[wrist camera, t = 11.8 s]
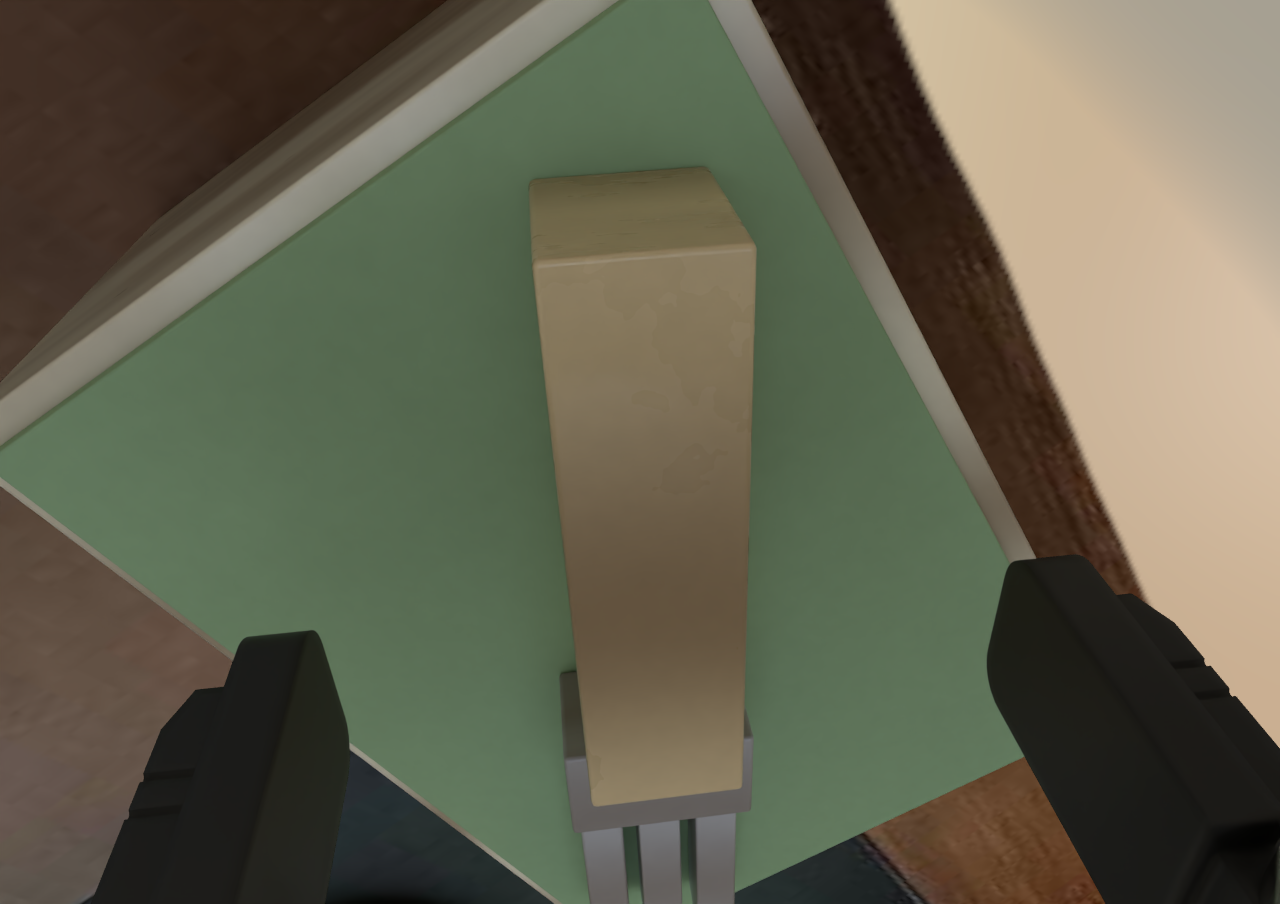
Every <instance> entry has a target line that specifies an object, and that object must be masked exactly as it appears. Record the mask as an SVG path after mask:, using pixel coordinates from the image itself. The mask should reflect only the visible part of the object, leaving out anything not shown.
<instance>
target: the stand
mask: <svg viewBox="0 0 1280 904" xmlns="http://www.w3.org/2000/svg"><path fill="white" fill-rule="evenodd" d="M617 1H618V0H447V1H446V2H445V3H443V4H442V5H441V6H440V7H438V8H437V9H436V10H434V11H433V12H432V13H430V14H429V15H428V16H426V17H425V18H424V19H422V20H421V21H420V22H418V23H417V24H416V25H414V26H413V27H412V28H410V29H409V30H408V31H406V32H405V33H404V34H402V35H401V36H400V37H398V38H397V39H396V40H394V41H393V42H392V43H391V44H389V45H388V46H387V47H385V48H384V49H383V50H381V51H380V52H379V53H377V54H376V55H375V56H373V57H372V58H371V59H369V60H368V61H367V62H365V63H364V64H363V65H361V66H360V67H359V68H357V69H356V70H355V71H353V72H352V73H351V74H349V75H348V76H347V77H345V78H344V79H343V80H342V81H340V82H339V83H338V84H336V85H335V86H334V87H332V88H331V89H330V90H328V91H327V92H326V93H324V94H323V95H322V96H320V97H319V98H318V99H316V100H315V101H314V102H312V103H311V104H310V105H308V106H307V107H306V108H304V109H303V110H302V111H300V112H299V113H298V114H296V115H295V116H294V117H293V118H291V119H290V120H289V121H287V122H286V123H285V124H283V125H282V126H281V127H279V128H278V129H277V130H275V131H274V132H273V133H271V134H270V135H269V136H267V137H266V138H265V139H263V140H262V141H261V142H259V143H258V144H257V145H255V146H254V147H253V148H251V149H250V150H249V151H248V152H246V153H245V154H244V155H242V156H241V157H240V158H238V159H237V160H236V161H234V162H233V163H232V164H230V165H229V166H228V167H226V168H225V169H224V170H222V171H221V172H220V173H218V174H217V175H216V176H214V177H213V178H212V179H210V180H209V181H208V182H206V183H205V184H204V185H202V186H201V187H200V188H199V189H197V190H196V191H195V192H193V193H192V194H191V195H189V196H188V197H187V198H185V199H184V200H183V201H181V202H180V203H179V204H177V205H176V206H175V207H173V208H172V209H171V210H169V211H168V212H167V213H165V214H164V215H163V216H161V217H160V218H159V219H158V220H157V221H156V222H155V223H154V224H153V225H152V226H151V227H150V228H149V229H148V230H147V231H146V232H145V233H144V234H143V235H142V236H141V237H140V238H139V239H138V240H137V241H136V243H135V244H134V245H133V246H132V247H131V248H130V249H129V250H128V251H127V252H126V253H125V254H124V255H123V256H122V257H121V258H120V259H119V260H118V261H117V262H116V263H115V264H114V265H113V266H112V267H111V268H110V269H109V271H108V272H107V273H106V274H105V275H104V276H103V277H102V278H101V279H100V280H99V281H98V282H97V283H96V284H95V285H94V286H93V287H92V288H91V289H90V290H89V291H88V292H87V293H86V294H85V295H84V296H83V297H82V299H81V300H80V301H79V302H78V303H77V304H76V305H75V306H74V307H73V308H72V309H71V310H70V311H69V312H68V313H67V314H66V315H65V316H64V317H63V318H62V319H61V320H60V321H59V322H58V323H57V324H56V325H55V326H54V328H53V329H52V330H51V331H50V332H49V333H48V334H47V335H46V336H45V337H44V338H43V339H42V340H41V341H40V342H39V343H38V344H37V345H36V346H35V347H34V348H33V349H32V350H31V351H30V352H29V353H28V354H27V356H26V357H25V358H24V359H23V360H22V361H21V362H20V363H19V364H18V365H17V366H16V367H15V368H14V369H13V370H12V371H11V372H10V373H9V374H8V375H7V376H6V377H5V378H4V379H3V380H2V381H1V382H0V446H1V445H2V444H4V443H5V442H7V441H8V440H9V439H11V438H12V437H13V436H15V435H16V434H18V433H19V432H20V431H22V430H23V429H25V428H26V427H27V426H29V425H30V424H32V423H33V422H34V421H36V420H37V419H38V418H40V417H41V416H43V415H44V414H45V413H47V412H48V411H50V410H51V409H52V408H54V407H55V406H56V405H58V404H59V403H61V402H62V401H63V400H65V399H66V398H68V397H69V396H70V395H72V394H73V393H75V392H76V391H77V390H79V389H80V388H81V387H83V386H84V385H86V384H87V383H88V382H90V381H91V380H93V379H94V378H95V377H97V376H98V375H100V374H101V373H102V372H104V371H105V370H106V369H108V368H109V367H111V366H112V365H113V364H115V363H116V362H118V361H119V360H120V359H122V358H123V357H124V356H126V355H127V354H129V353H130V352H131V351H133V350H134V349H136V348H137V347H138V346H140V345H141V344H143V343H144V342H145V341H147V340H148V339H149V338H151V337H152V336H154V335H155V334H156V333H158V332H159V331H161V330H162V329H163V328H165V327H166V326H167V325H169V324H170V323H172V322H173V321H174V320H176V319H177V318H179V317H180V316H181V315H183V314H184V313H186V312H187V311H188V310H190V309H191V308H192V307H194V306H195V305H197V304H198V303H199V302H201V301H202V300H204V299H205V298H206V297H208V296H209V295H210V294H212V293H213V292H215V291H216V290H217V289H219V288H220V287H222V286H223V285H224V284H226V283H227V282H229V281H230V280H231V279H233V278H234V277H235V276H237V275H238V274H240V273H241V272H242V271H244V270H245V269H247V268H248V267H249V266H251V265H252V264H253V263H255V262H256V261H258V260H259V259H260V258H262V257H263V256H265V255H266V254H267V253H269V252H270V251H272V250H273V249H274V248H276V247H277V246H278V245H280V244H281V243H283V242H284V241H285V240H287V239H288V238H290V237H291V236H292V235H294V234H295V233H297V232H298V231H299V230H301V229H302V228H303V227H305V226H306V225H308V224H309V223H310V222H312V221H313V220H315V219H316V218H317V217H319V216H320V215H321V214H323V213H324V212H326V211H327V210H328V209H330V208H331V207H333V206H334V205H335V204H337V203H338V202H340V201H341V200H342V199H344V198H345V197H346V196H348V195H349V194H351V193H352V192H353V191H355V190H356V189H358V188H359V187H360V186H362V185H363V184H364V183H366V182H367V181H369V180H370V179H371V178H373V177H374V176H376V175H377V174H378V173H380V172H381V171H383V170H384V169H385V168H387V167H388V166H389V165H391V164H392V163H394V162H395V161H396V160H398V159H399V158H401V157H402V156H403V155H405V154H406V153H407V152H409V151H410V150H412V149H413V148H414V147H416V146H417V145H419V144H420V143H421V142H423V141H424V140H426V139H427V138H428V137H430V136H431V135H432V134H434V133H435V132H437V131H438V130H439V129H441V128H442V127H444V126H445V125H446V124H448V123H449V122H451V121H452V120H453V119H455V118H456V117H457V116H459V115H460V114H462V113H463V112H464V111H466V110H467V109H469V108H470V107H471V106H473V105H474V104H475V103H477V102H478V101H480V100H481V99H482V98H484V97H485V96H487V95H488V94H489V93H491V92H492V91H494V90H495V89H496V88H498V87H499V86H500V85H502V84H503V83H505V82H506V81H507V80H509V79H510V78H512V77H513V76H514V75H516V74H517V73H518V72H520V71H521V70H523V69H524V68H525V67H527V66H528V65H530V64H531V63H532V62H534V61H535V60H537V59H538V58H539V57H541V56H542V55H543V54H545V53H546V52H548V51H549V50H550V49H552V48H553V47H555V46H556V45H557V44H559V43H560V42H561V41H563V40H564V39H566V38H567V37H568V36H570V35H571V34H573V33H574V32H575V31H577V30H578V29H580V28H581V27H582V26H584V25H585V24H586V23H588V22H589V21H591V20H592V19H593V18H595V17H596V16H598V15H599V14H600V13H602V12H603V11H605V10H606V9H607V8H609V7H610V6H611V5H613V4H614V3H616V2H617ZM708 1H709V3H710V4H711V6H712V8H713V10H714V12H715V14H716V16H717V18H718V19H719V21H720V23H721V25H722V27H723V29H724V31H725V32H726V34H727V36H728V38H729V40H730V42H731V44H732V46H733V47H734V49H735V51H736V53H737V55H738V57H739V59H740V60H741V62H742V64H743V66H744V68H745V70H746V72H747V74H748V75H749V77H750V79H751V81H752V83H753V85H754V87H755V88H756V90H757V92H758V94H759V96H760V98H761V100H762V102H763V103H764V105H765V107H766V109H767V111H768V113H769V115H770V116H771V118H772V120H773V122H774V124H775V126H776V128H777V129H778V131H779V133H780V135H781V137H782V139H783V141H784V143H785V144H786V146H787V148H788V150H789V152H790V154H791V156H792V157H793V159H794V161H795V163H796V165H797V167H798V169H799V171H800V172H801V174H802V176H803V178H804V180H805V182H806V184H807V185H808V187H809V189H810V191H811V193H812V195H813V197H814V199H815V200H816V202H817V204H818V206H819V208H820V210H821V212H822V213H823V215H824V217H825V219H826V221H827V223H828V225H829V227H830V228H831V230H832V232H833V234H834V236H835V238H836V240H837V241H838V243H839V245H840V247H841V249H842V251H843V253H844V255H845V256H846V258H847V260H848V262H849V264H850V266H851V268H852V269H853V271H854V273H855V275H856V277H857V279H858V281H859V283H860V284H861V286H862V288H863V290H864V292H865V294H866V296H867V297H868V299H869V301H870V303H871V305H872V307H873V309H874V311H875V312H876V314H877V316H878V318H879V320H880V322H881V324H882V325H883V327H884V329H885V331H886V333H887V335H888V337H889V339H890V340H891V342H892V344H893V346H894V348H895V350H896V352H897V353H898V355H899V357H900V359H901V361H902V363H903V365H904V367H905V368H906V370H907V372H908V374H909V376H910V378H911V380H912V381H913V383H914V385H915V387H916V389H917V391H918V393H919V395H920V396H921V398H922V400H923V402H924V404H925V406H926V408H927V409H928V411H929V413H930V415H931V417H932V419H933V421H934V423H935V424H936V426H937V428H938V430H939V432H940V434H941V436H942V437H943V439H944V441H945V443H946V445H947V447H948V449H949V451H950V452H951V454H952V456H953V458H954V460H955V462H956V464H957V465H958V467H959V469H960V471H961V473H962V475H963V477H964V479H965V480H966V482H967V484H968V486H969V488H970V490H971V492H972V493H973V495H974V497H975V499H976V501H977V503H978V505H979V506H980V508H981V510H982V512H983V514H984V516H985V518H986V520H987V521H988V523H989V525H990V527H991V529H992V531H993V533H994V534H995V536H996V538H997V540H998V542H999V544H1000V546H1001V548H1002V549H1003V551H1004V553H1005V555H1006V557H1007V559H1008V561H1009V562H1010V564H1011V563H1012V562H1013V561H1017V560H1026V559H1036V557H1035V555H1034V553H1033V551H1032V549H1031V547H1030V545H1029V543H1028V541H1027V539H1026V537H1025V535H1024V533H1023V531H1022V529H1021V527H1020V525H1019V523H1018V521H1017V519H1016V518H1015V516H1014V514H1013V512H1012V510H1011V508H1010V506H1009V504H1008V502H1007V500H1006V498H1005V496H1004V494H1003V492H1002V490H1001V488H1000V486H999V484H998V482H997V480H996V478H995V476H994V474H993V472H992V471H991V469H990V467H989V465H988V463H987V461H986V459H985V457H984V455H983V453H982V451H981V449H980V447H979V445H978V443H977V441H976V439H975V437H974V435H973V433H972V431H971V429H970V427H969V425H968V424H967V422H966V420H965V418H964V416H963V414H962V412H961V410H960V408H959V406H958V404H957V402H956V400H955V398H954V396H953V394H952V392H951V390H950V388H949V386H948V384H947V382H946V380H945V378H944V376H943V375H942V373H941V371H940V369H939V367H938V365H937V363H936V361H935V359H934V357H933V355H932V353H931V351H930V349H929V347H928V345H927V343H926V341H925V339H924V337H923V335H922V333H921V331H920V329H919V328H918V326H917V324H916V322H915V320H914V318H913V316H912V314H911V312H910V310H909V308H908V306H907V304H906V302H905V300H904V298H903V296H902V294H901V292H900V290H899V288H898V286H897V284H896V282H895V281H894V279H893V277H892V275H891V273H890V271H889V269H888V267H887V265H886V263H885V261H884V259H883V257H882V255H881V253H880V251H879V249H878V247H877V245H876V243H875V241H874V239H873V237H872V235H871V234H870V232H869V230H868V228H867V226H866V224H865V222H864V220H863V218H862V216H861V214H860V212H859V210H858V208H857V206H856V204H855V202H854V200H853V198H852V196H851V194H850V192H849V190H848V188H847V187H846V185H845V183H844V181H843V179H842V177H841V175H840V173H839V171H838V169H837V167H836V165H835V163H834V161H833V159H832V157H831V155H830V153H829V151H828V149H827V147H826V145H825V143H824V141H823V140H822V138H821V136H820V134H819V132H818V130H817V128H816V126H815V124H814V122H813V120H812V118H811V116H810V114H809V112H808V110H807V108H806V106H805V104H804V102H803V100H802V98H801V96H800V94H799V92H798V91H797V89H796V87H795V85H794V83H793V81H792V79H791V77H790V75H789V73H788V71H787V69H786V67H785V65H784V63H783V61H782V59H781V57H780V55H779V53H778V51H777V49H776V47H775V45H774V44H773V42H772V40H771V38H770V36H769V34H768V32H767V30H766V28H765V26H764V24H763V22H762V20H761V18H760V16H759V14H758V12H757V10H756V8H755V6H754V4H753V2H752V0H708ZM0 486H1V487H2V488H4V489H5V490H6V491H8V492H9V493H10V494H12V495H13V496H14V497H16V498H17V499H18V500H20V501H21V502H22V503H24V504H25V505H26V506H28V507H29V508H30V509H31V510H33V511H34V512H35V513H37V514H38V515H39V516H41V517H42V518H43V519H45V520H46V521H47V522H49V523H50V524H51V525H53V526H54V527H55V528H57V529H58V530H59V531H61V532H62V533H63V534H65V535H66V536H67V537H69V538H70V539H71V540H73V541H74V542H75V543H77V544H78V545H79V546H81V547H82V548H83V549H85V550H86V551H87V552H89V553H90V554H91V555H93V556H94V557H95V558H97V559H98V560H99V561H100V562H102V563H103V564H104V565H106V566H107V567H108V568H110V569H111V570H112V571H114V572H115V573H116V574H118V575H119V576H120V577H122V578H123V579H124V580H126V581H127V582H128V583H130V584H131V585H132V586H134V587H135V588H136V589H138V590H139V591H140V592H142V593H143V594H144V595H146V596H147V597H148V598H150V599H151V600H152V601H154V602H155V603H156V604H158V605H159V606H160V607H162V608H163V609H164V610H166V611H167V612H168V613H170V614H171V615H172V616H173V617H175V618H176V619H177V620H179V621H180V622H181V623H183V624H184V625H185V626H187V627H188V628H189V629H191V630H192V631H193V632H195V633H196V634H197V635H199V636H200V637H201V638H203V639H204V640H205V641H207V642H208V643H209V644H211V645H212V646H213V647H215V648H216V649H217V650H219V651H220V652H221V653H223V654H224V655H225V656H227V657H228V658H229V659H231V660H232V661H233V659H234V657H235V655H234V654H233V653H231V652H230V651H229V650H227V649H226V648H225V647H223V646H222V645H221V644H219V643H218V642H217V641H215V640H214V639H213V638H212V637H210V636H209V635H208V634H206V633H205V632H204V631H202V630H201V629H200V628H198V627H197V626H196V625H194V624H193V623H192V622H190V621H189V620H188V619H186V618H185V617H184V616H183V615H181V614H180V613H179V612H177V611H176V610H175V609H173V608H172V607H171V606H169V605H168V604H167V603H165V602H164V601H163V600H161V599H160V598H159V597H157V596H156V595H155V594H154V593H152V592H151V591H150V590H148V589H147V588H146V587H144V586H143V585H142V584H140V583H139V582H138V581H136V580H135V579H134V578H132V577H131V576H130V575H128V574H127V573H126V572H125V571H123V570H122V569H121V568H119V567H118V566H117V565H115V564H114V563H113V562H111V561H110V560H109V559H107V558H106V557H105V556H103V555H102V554H101V553H100V552H98V551H97V550H96V549H94V548H93V547H92V546H90V545H89V544H88V543H86V542H85V541H84V540H82V539H81V538H80V537H78V536H77V535H76V534H74V533H73V532H72V531H71V530H69V529H68V528H67V527H65V526H64V525H63V524H61V523H60V522H59V521H57V520H56V519H55V518H53V517H52V516H51V515H49V514H48V513H47V512H45V511H44V510H43V509H42V508H40V507H39V506H38V505H36V504H35V503H34V502H32V501H31V500H30V499H28V498H27V497H26V496H24V495H23V494H22V493H20V492H19V491H18V490H17V489H15V488H14V487H13V486H11V485H10V484H9V483H7V482H6V481H5V480H3V479H2V478H1V477H0ZM349 744H350V750H351V751H353V752H354V753H355V754H357V755H358V756H359V757H361V758H362V759H363V760H365V761H366V762H367V763H369V764H370V765H371V766H373V767H374V768H375V769H377V770H378V771H379V772H380V773H382V774H383V775H384V776H386V777H387V778H388V779H390V780H391V781H392V782H394V783H395V784H396V785H398V786H399V787H400V788H402V789H403V790H404V791H406V792H407V793H408V794H410V795H411V796H412V797H414V798H415V799H416V800H418V801H419V802H420V803H422V804H423V805H424V806H426V807H427V808H428V809H430V810H431V811H432V812H434V813H435V814H436V815H438V816H439V817H440V818H442V819H443V820H444V821H446V822H447V823H448V824H449V825H451V826H452V827H453V828H455V829H456V830H457V831H459V832H460V833H461V834H463V835H464V836H465V837H467V838H468V839H469V840H471V841H472V842H473V843H475V844H476V845H477V846H479V847H480V848H481V849H483V850H484V851H485V852H487V853H488V854H489V855H491V856H492V857H493V858H495V859H496V860H497V861H499V862H500V863H501V864H503V865H504V866H505V867H507V868H508V869H509V870H511V871H512V872H513V873H515V874H516V875H517V876H519V877H520V878H521V879H522V880H524V881H525V882H526V883H528V884H529V885H530V886H532V887H533V888H534V889H536V890H537V891H538V892H540V893H541V894H542V895H544V896H545V897H546V898H548V899H549V900H550V901H552V902H553V903H554V904H562V903H561V902H559V901H558V900H557V899H555V898H554V897H553V896H551V895H550V894H549V893H547V892H546V891H545V890H544V889H542V888H541V887H540V886H538V885H537V884H536V883H534V882H533V881H532V880H530V879H529V878H528V877H526V876H525V875H524V874H522V873H521V872H520V871H518V870H517V869H516V868H515V867H513V866H512V865H511V864H509V863H508V862H507V861H505V860H504V859H503V858H501V857H500V856H499V855H497V854H496V853H495V852H493V851H492V850H491V849H489V848H488V847H487V846H486V845H484V844H483V843H482V842H480V841H479V840H478V839H476V838H475V837H474V836H472V835H471V834H470V833H468V832H467V831H466V830H464V829H463V828H462V827H461V826H459V825H458V824H457V823H455V822H454V821H453V820H451V819H450V818H449V817H447V816H446V815H445V814H443V813H442V812H441V811H439V810H438V809H437V808H435V807H434V806H433V805H432V804H430V803H429V802H428V801H426V800H425V799H424V798H422V797H421V796H420V795H418V794H417V793H416V792H414V791H413V790H412V789H410V788H409V787H408V786H406V785H405V784H404V783H403V782H401V781H400V780H399V779H397V778H396V777H395V776H393V775H392V774H391V773H389V772H388V771H387V770H385V769H384V768H383V767H381V766H380V765H379V764H378V763H376V762H375V761H374V760H372V759H371V758H370V757H368V756H367V755H366V754H364V753H363V752H362V751H360V750H359V749H358V748H356V747H355V746H354V745H352V744H351V743H350V742H349Z"/></svg>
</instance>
